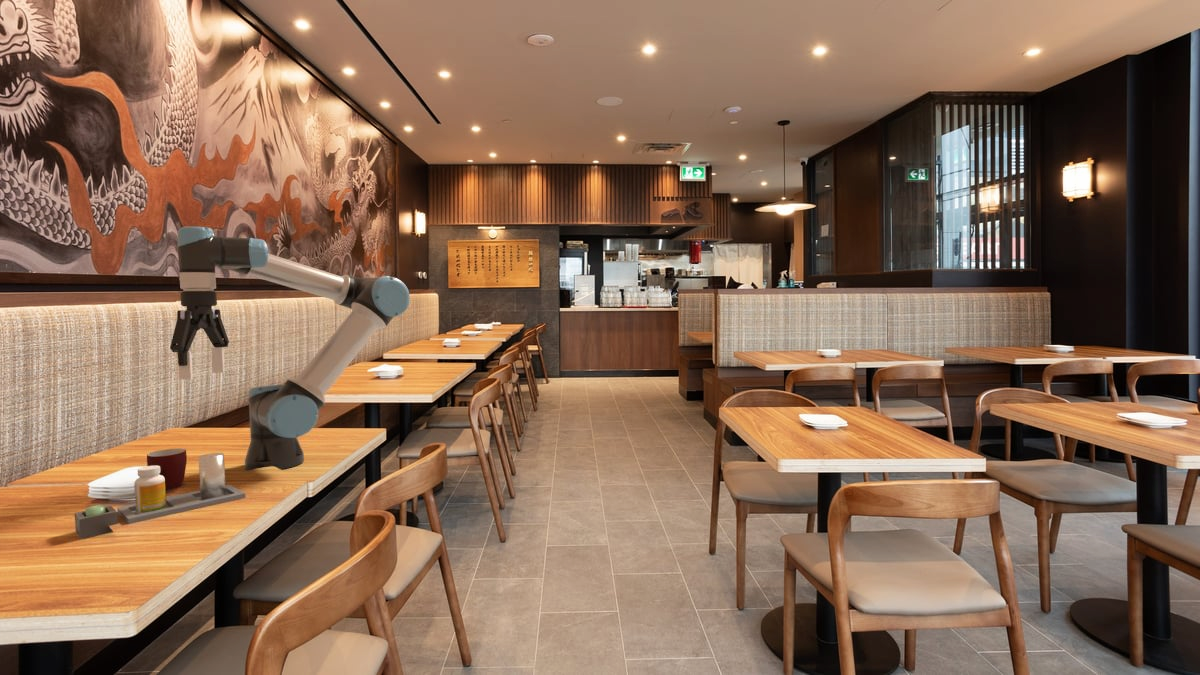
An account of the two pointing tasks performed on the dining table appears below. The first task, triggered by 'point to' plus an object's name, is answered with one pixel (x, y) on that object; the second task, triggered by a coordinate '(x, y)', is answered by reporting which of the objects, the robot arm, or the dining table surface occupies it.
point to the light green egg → (95, 510)
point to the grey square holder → (95, 523)
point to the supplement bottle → (150, 490)
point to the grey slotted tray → (179, 505)
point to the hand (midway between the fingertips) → (203, 375)
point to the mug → (169, 465)
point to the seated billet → (212, 475)
